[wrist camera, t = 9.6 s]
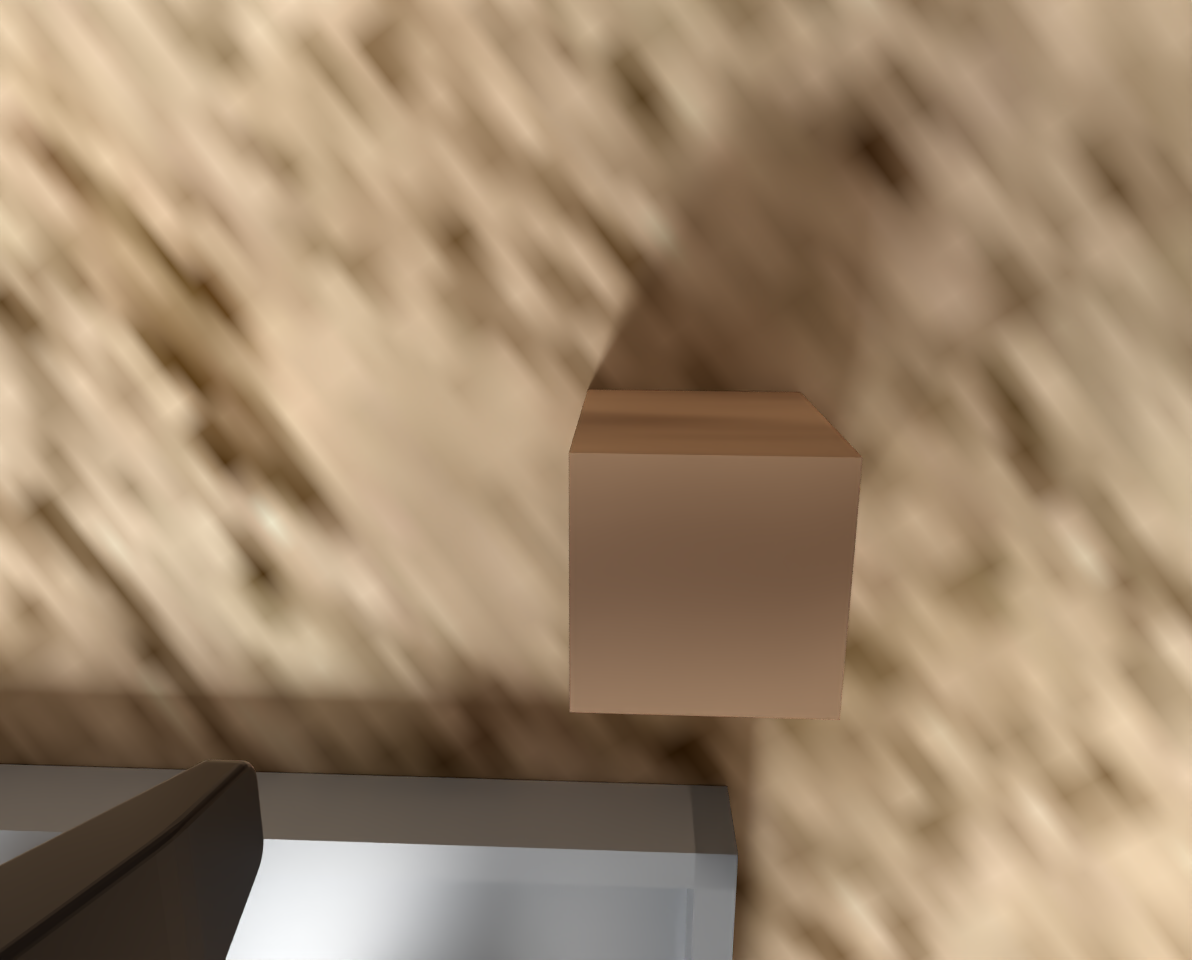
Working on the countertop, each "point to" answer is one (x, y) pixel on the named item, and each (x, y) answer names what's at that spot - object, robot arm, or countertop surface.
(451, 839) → the parts tray
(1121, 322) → the countertop surface
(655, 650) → the walnut block
